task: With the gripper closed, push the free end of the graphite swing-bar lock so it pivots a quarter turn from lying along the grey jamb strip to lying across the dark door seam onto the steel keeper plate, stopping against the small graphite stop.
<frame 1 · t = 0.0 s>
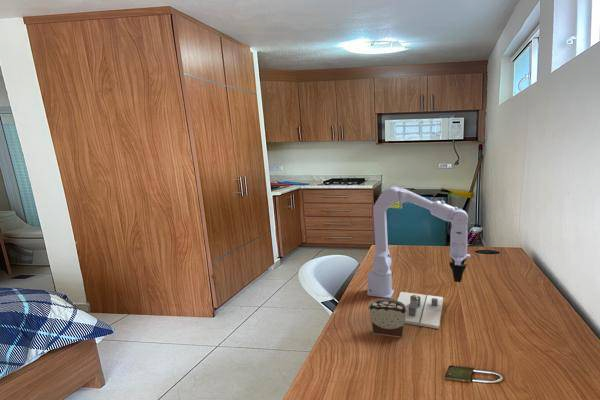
hand: (457, 278, 134), 10 cm above the table, fingers open, 7 cm apart
door board: (417, 309, 132), on the table
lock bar: (414, 304, 130), point 3 cm above the table, hinge at -90.0°
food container: (388, 331, 118), on the table
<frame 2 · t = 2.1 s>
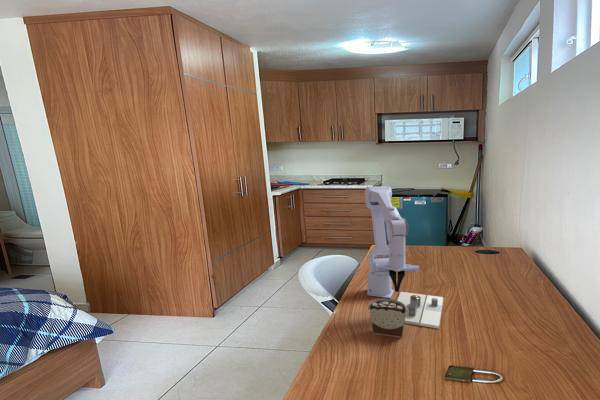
hand: (396, 290, 128), 9 cm above the table, fingers closed
nothing on the table moved.
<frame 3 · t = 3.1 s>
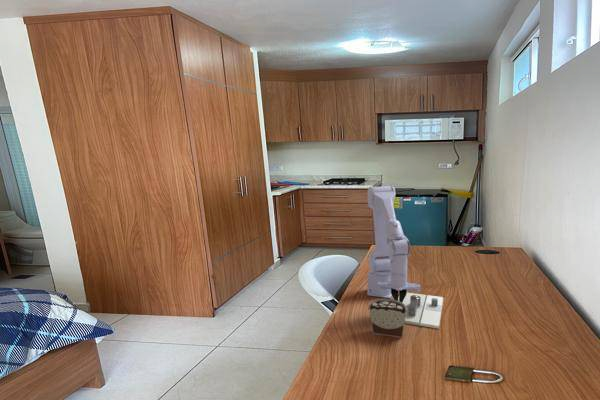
hand: (398, 308, 129), 2 cm above the table, fingers closed
nothing on the table moved.
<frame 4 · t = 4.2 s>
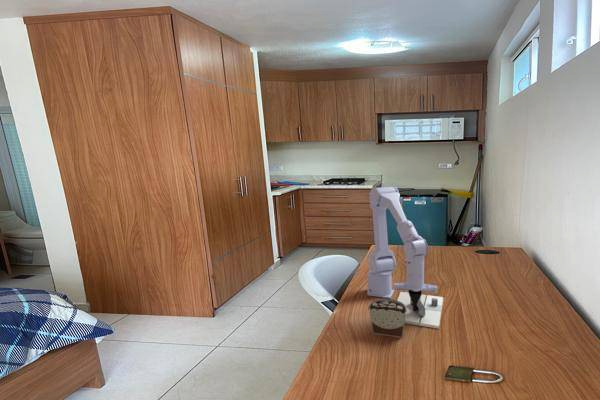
hand: (414, 310, 127), 2 cm above the table, fingers closed, pressing on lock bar
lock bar: (417, 304, 130), point 3 cm above the table, hinge at -68.8°, touching gripper
everything else where it was.
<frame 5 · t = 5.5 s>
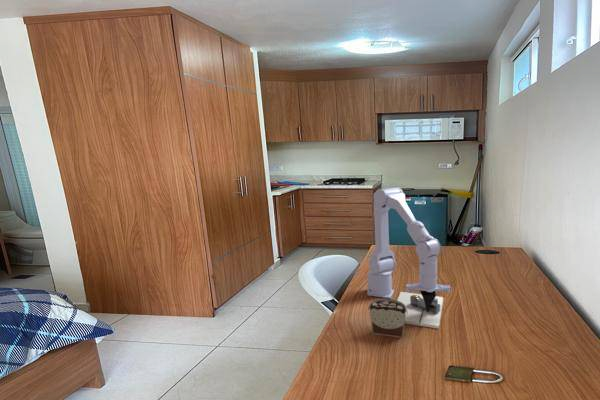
hand: (427, 310, 127), 2 cm above the table, fingers closed
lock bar: (424, 303, 130), point 3 cm above the table, hinge at -25.3°, touching gripper
everything else where it was.
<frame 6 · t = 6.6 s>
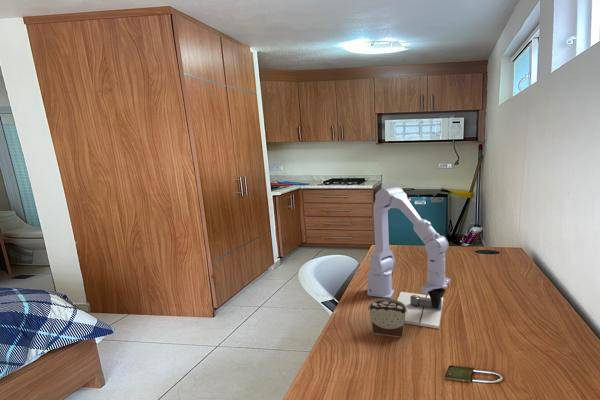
hand: (435, 307, 129), 2 cm above the table, fingers closed, pressing on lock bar
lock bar: (425, 301, 132), point 3 cm above the table, hinge at 4.0°, touching door board, gripper
everything else where it was.
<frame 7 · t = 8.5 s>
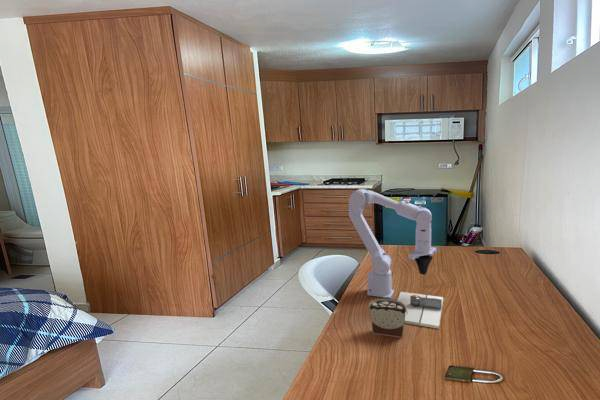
hand: (422, 273, 141), 10 cm above the table, fingers closed
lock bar: (425, 301, 132), point 3 cm above the table, hinge at 3.7°
everything else where it was.
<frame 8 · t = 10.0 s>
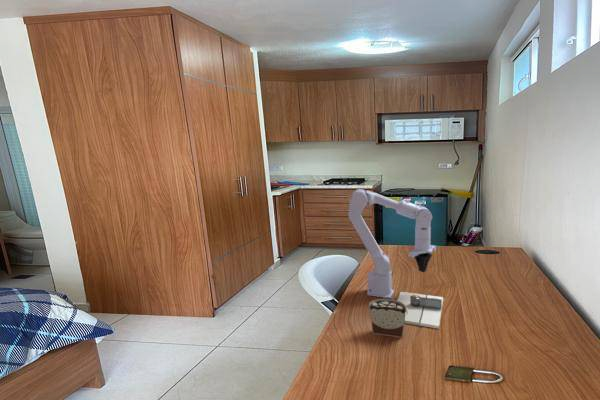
hand: (422, 271, 143), 10 cm above the table, fingers closed
nothing on the table moved.
at the end: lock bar at +4° (first picture: -90°) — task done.
